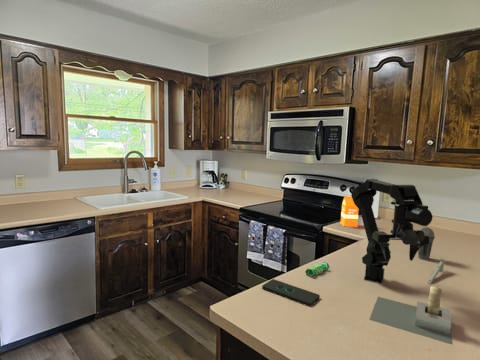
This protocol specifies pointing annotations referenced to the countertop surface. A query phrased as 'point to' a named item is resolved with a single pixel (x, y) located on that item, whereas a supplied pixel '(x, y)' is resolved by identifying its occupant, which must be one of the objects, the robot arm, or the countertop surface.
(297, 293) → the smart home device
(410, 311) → the mat
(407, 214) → the robot arm
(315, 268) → the candy
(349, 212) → the orange juice
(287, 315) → the countertop surface
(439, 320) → the square peg hole block
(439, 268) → the caliper
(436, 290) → the pin
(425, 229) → the beverage cup
